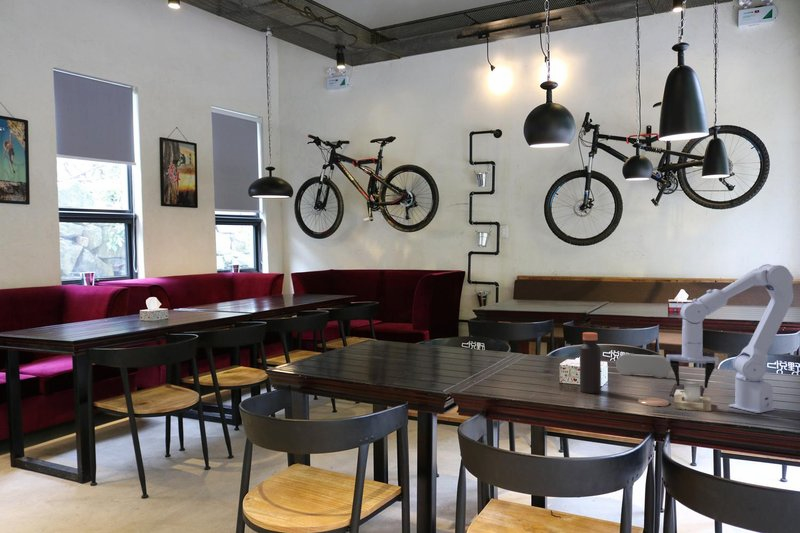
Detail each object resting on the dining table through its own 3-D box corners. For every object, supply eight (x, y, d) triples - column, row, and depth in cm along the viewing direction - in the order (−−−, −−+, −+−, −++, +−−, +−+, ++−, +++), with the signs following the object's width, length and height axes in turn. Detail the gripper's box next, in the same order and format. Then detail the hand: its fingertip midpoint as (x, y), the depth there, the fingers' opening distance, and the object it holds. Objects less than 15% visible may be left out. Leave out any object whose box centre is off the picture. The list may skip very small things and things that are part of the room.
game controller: (671, 377, 231) (671, 355, 231) (671, 379, 229) (671, 356, 229) (616, 373, 240) (616, 352, 240) (615, 374, 238) (615, 353, 238)
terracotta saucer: (675, 404, 193) (675, 402, 193) (655, 407, 189) (655, 406, 189) (651, 397, 201) (651, 396, 201) (631, 401, 197) (631, 399, 197)
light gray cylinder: (703, 406, 190) (703, 384, 189) (693, 408, 188) (693, 385, 187) (690, 403, 194) (690, 381, 193) (681, 405, 192) (681, 383, 191)
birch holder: (709, 403, 193) (709, 397, 193) (711, 411, 184) (711, 405, 184) (674, 400, 197) (674, 394, 197) (674, 408, 188) (674, 402, 188)
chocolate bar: (702, 386, 215) (699, 397, 199) (702, 388, 215) (699, 400, 199) (674, 383, 219) (669, 394, 203) (674, 386, 219) (669, 397, 203)
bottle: (600, 394, 207) (600, 334, 206) (579, 393, 209) (579, 334, 209) (601, 389, 213) (600, 332, 213) (580, 388, 216) (580, 331, 215)
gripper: (666, 342, 189) (666, 386, 190) (719, 345, 183) (719, 391, 184) (666, 339, 196) (666, 382, 196) (718, 342, 190) (717, 386, 190)
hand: (691, 386), depth 190 cm, fingers open, 7 cm apart
